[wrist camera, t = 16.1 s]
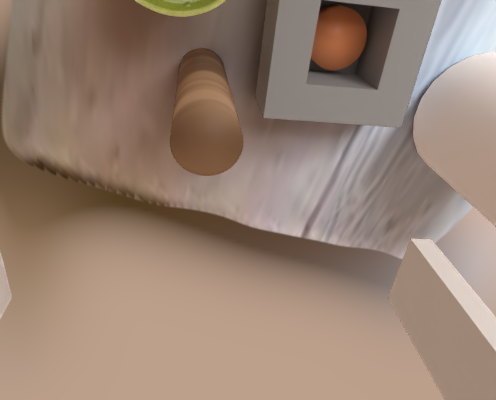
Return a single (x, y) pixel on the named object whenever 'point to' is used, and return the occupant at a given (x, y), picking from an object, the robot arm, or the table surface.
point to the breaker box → (347, 79)
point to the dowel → (204, 116)
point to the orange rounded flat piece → (338, 37)
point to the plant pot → (181, 6)
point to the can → (462, 130)
